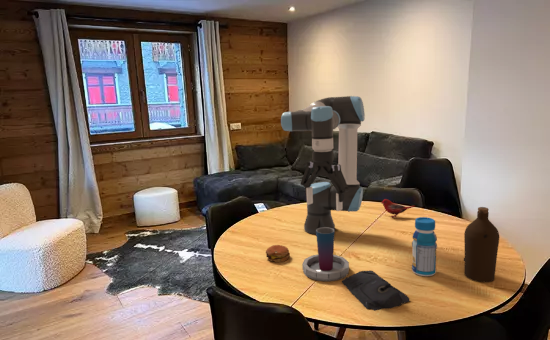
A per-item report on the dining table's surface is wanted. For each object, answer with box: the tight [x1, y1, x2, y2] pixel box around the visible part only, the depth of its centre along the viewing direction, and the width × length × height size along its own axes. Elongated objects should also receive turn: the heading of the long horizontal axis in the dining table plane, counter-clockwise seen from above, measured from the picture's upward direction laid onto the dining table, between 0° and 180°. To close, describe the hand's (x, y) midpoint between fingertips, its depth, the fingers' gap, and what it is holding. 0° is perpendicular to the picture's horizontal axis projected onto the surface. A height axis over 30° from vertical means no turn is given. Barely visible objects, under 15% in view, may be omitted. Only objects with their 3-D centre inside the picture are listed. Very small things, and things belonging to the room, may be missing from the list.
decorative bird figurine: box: [380, 198, 416, 218], centre depth 199 cm, size 3×18×10 cm, turn 82°
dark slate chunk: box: [341, 270, 411, 312], centre depth 126 cm, size 15×22×5 cm
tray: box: [301, 253, 350, 282], centre depth 142 cm, size 17×17×3 cm
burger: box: [265, 244, 290, 263], centre depth 156 cm, size 10×9×5 cm
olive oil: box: [463, 206, 500, 283], centre depth 131 cm, size 11×11×25 cm
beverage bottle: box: [411, 216, 438, 277], centre depth 136 cm, size 8×8×20 cm
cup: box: [315, 227, 335, 271], centre depth 141 cm, size 7×7×15 cm
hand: (324, 207), depth 139 cm, fingers open, 13 cm apart
